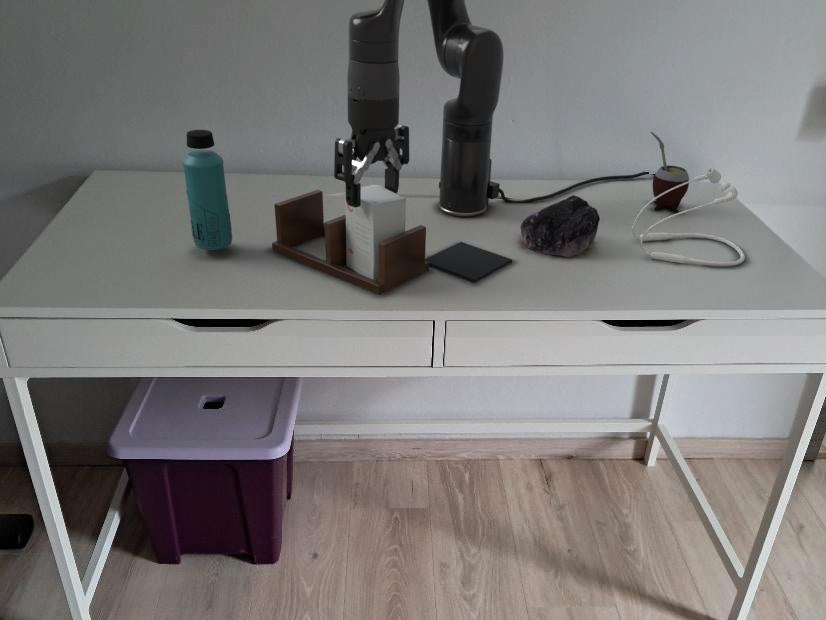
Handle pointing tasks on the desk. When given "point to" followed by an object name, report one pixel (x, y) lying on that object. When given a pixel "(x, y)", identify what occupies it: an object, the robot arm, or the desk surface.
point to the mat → (467, 261)
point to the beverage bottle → (206, 193)
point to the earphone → (729, 195)
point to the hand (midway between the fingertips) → (372, 199)
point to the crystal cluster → (561, 227)
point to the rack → (306, 222)
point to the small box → (372, 227)
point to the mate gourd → (669, 184)
